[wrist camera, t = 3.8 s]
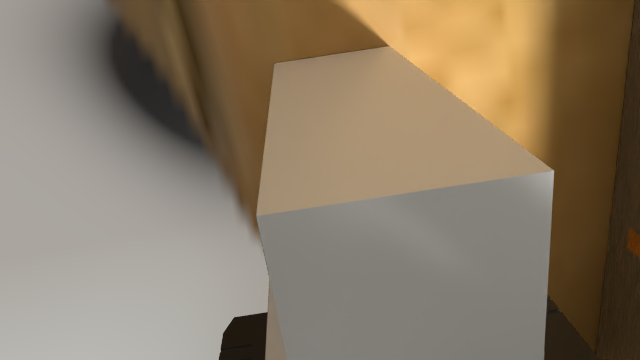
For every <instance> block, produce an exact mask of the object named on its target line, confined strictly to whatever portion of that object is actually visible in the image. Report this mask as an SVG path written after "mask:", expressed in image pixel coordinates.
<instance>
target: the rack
mask: <svg viewBox="0 0 640 360" xmlns="http://www.w3.org/2000/svg"><path fill="white" fill-rule="evenodd" d="M596 356H597V357H600V358H603V359H606V360H640V0H635V6H634V15H633V24H632V33H631V42H630V51H629V60H628V69H627V78H626V87H625V96H624V105H623V115H622V124H621V133H620V142H619V151H618V160H617V169H616V178H615V187H614V196H613V205H612V214H611V223H610V233H609V242H608V251H607V260H606V269H605V278H604V287H603V296H602V305H601V314H600V323H599V332H598V341H597V350H596Z"/></svg>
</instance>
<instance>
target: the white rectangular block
mask: <svg viewBox="0 0 640 360" xmlns="http://www.w3.org/2000/svg"><path fill="white" fill-rule="evenodd" d="M553 183H554V170H553V169H551V168H550V167H549V166H547V165H546V164H545V163H543V162H542V161H541V160H539V159H538V158H537V157H535V156H534V155H533V154H531V153H530V152H529V151H527V150H526V149H525V148H524V147H522V146H521V145H520V144H518V143H517V142H516V141H514V140H513V139H512V138H510V137H509V136H508V135H506V134H505V133H504V132H502V131H501V130H500V129H498V128H497V127H496V126H494V125H493V124H492V123H490V122H489V121H488V120H487V119H485V118H484V117H483V116H481V115H480V114H479V113H477V112H476V111H475V110H473V109H472V108H471V107H469V106H468V105H467V104H465V103H464V102H463V101H461V100H460V99H459V98H457V97H456V96H455V95H454V94H452V93H451V92H450V91H448V90H447V89H446V88H444V87H443V86H442V85H440V84H439V83H438V82H436V81H435V80H434V79H432V78H431V77H430V76H428V75H427V74H426V73H424V72H423V71H422V70H420V69H419V68H418V67H417V66H415V65H414V64H413V63H411V62H410V61H409V60H407V59H406V58H405V57H403V56H402V55H401V54H399V53H398V52H397V51H395V50H394V49H393V48H391V47H390V46H386V47H379V48H373V49H366V50H360V51H353V52H346V53H340V54H333V55H327V56H320V57H313V58H307V59H300V60H293V61H287V62H280V63H274V71H273V80H272V88H271V96H270V105H269V113H268V121H267V130H266V138H265V146H264V155H263V163H262V171H261V180H260V188H259V196H258V204H257V213H256V218H257V223H258V227H259V232H260V237H261V241H262V246H263V251H264V255H265V260H266V265H267V269H268V274H269V279H270V283H271V288H272V293H273V298H274V302H275V307H276V312H277V316H278V321H279V326H280V330H281V335H282V340H283V344H284V349H285V354H286V358H287V360H544V344H545V326H546V308H547V290H548V273H549V255H550V237H551V219H552V201H553Z"/></svg>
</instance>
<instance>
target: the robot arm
mask: <svg viewBox="0 0 640 360" xmlns="http://www.w3.org/2000/svg"><path fill="white" fill-rule="evenodd" d="M219 360H287V358H286V354H285V349H284V344H283V340H282V335H281V330H280V326H279V321H278V316H277V312H276V307H275V302H274V298H273V293H272V288H271V283H270V279H269V297H268V312H267V313H260V314H254V315H247V316H241V317H235V318H233V320H232V321H231V323H230V324H229V326H228V327H227V329H226V330H225V332H224V333H223V339H222V344H221V353H220V356H219ZM544 360H606V359H603V358H600V357H597V356H596V355H595V353H594V352H593V351H592V350H591V348H590V347H589V346H588V345H587V343H586V342H585V341H584V340H583V338H582V337H581V336H580V335H579V333H578V332H577V331H576V330H575V328H574V327H573V326H572V325H571V323H570V322H569V321H568V320H567V318H566V317H565V316H564V315H563V313H562V312H560V311H559V308H558V307H557V306H556V305H555V303H554V302H553V301H552V300H550V297H549V296H548V295H547V308H546V326H545V344H544Z"/></svg>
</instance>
